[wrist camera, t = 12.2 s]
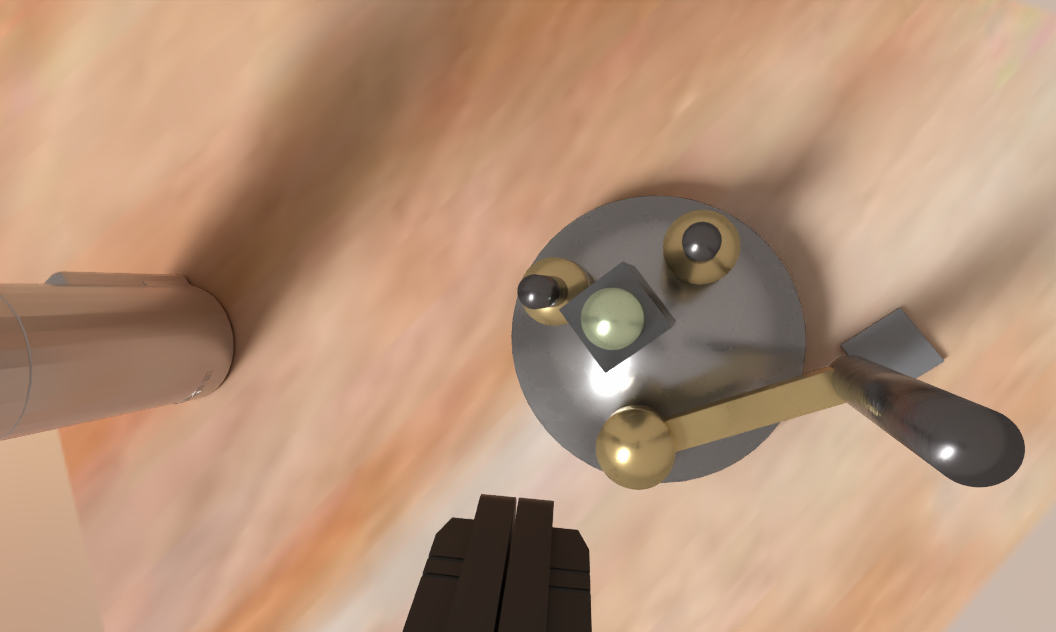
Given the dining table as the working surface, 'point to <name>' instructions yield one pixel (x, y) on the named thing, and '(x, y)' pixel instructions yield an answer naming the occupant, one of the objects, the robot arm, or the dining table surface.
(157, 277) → the robot arm
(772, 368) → the tribrach plate
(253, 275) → the dining table surface
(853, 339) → the plate
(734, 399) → the lever
